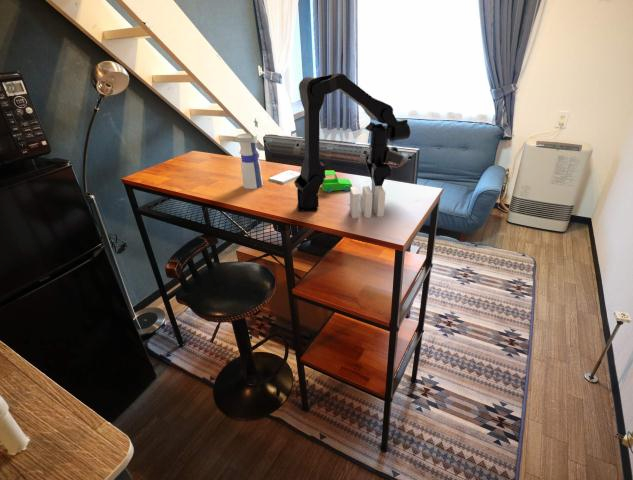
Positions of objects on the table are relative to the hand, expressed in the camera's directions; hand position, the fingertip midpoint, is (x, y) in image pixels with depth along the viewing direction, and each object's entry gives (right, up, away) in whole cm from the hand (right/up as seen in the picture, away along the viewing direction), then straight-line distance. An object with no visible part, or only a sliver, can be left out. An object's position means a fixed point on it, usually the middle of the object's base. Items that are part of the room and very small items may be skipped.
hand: (376, 186), depth 123 cm
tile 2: (-5, -10, -12) cm, 16 cm away
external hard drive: (-34, +6, +19) cm, 39 cm away
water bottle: (-46, +2, +12) cm, 48 cm away
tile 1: (-9, -11, -12) cm, 18 cm away
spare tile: (0, -2, +1) cm, 3 cm away
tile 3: (-1, -10, -12) cm, 15 cm away
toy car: (-14, 0, +8) cm, 16 cm away
